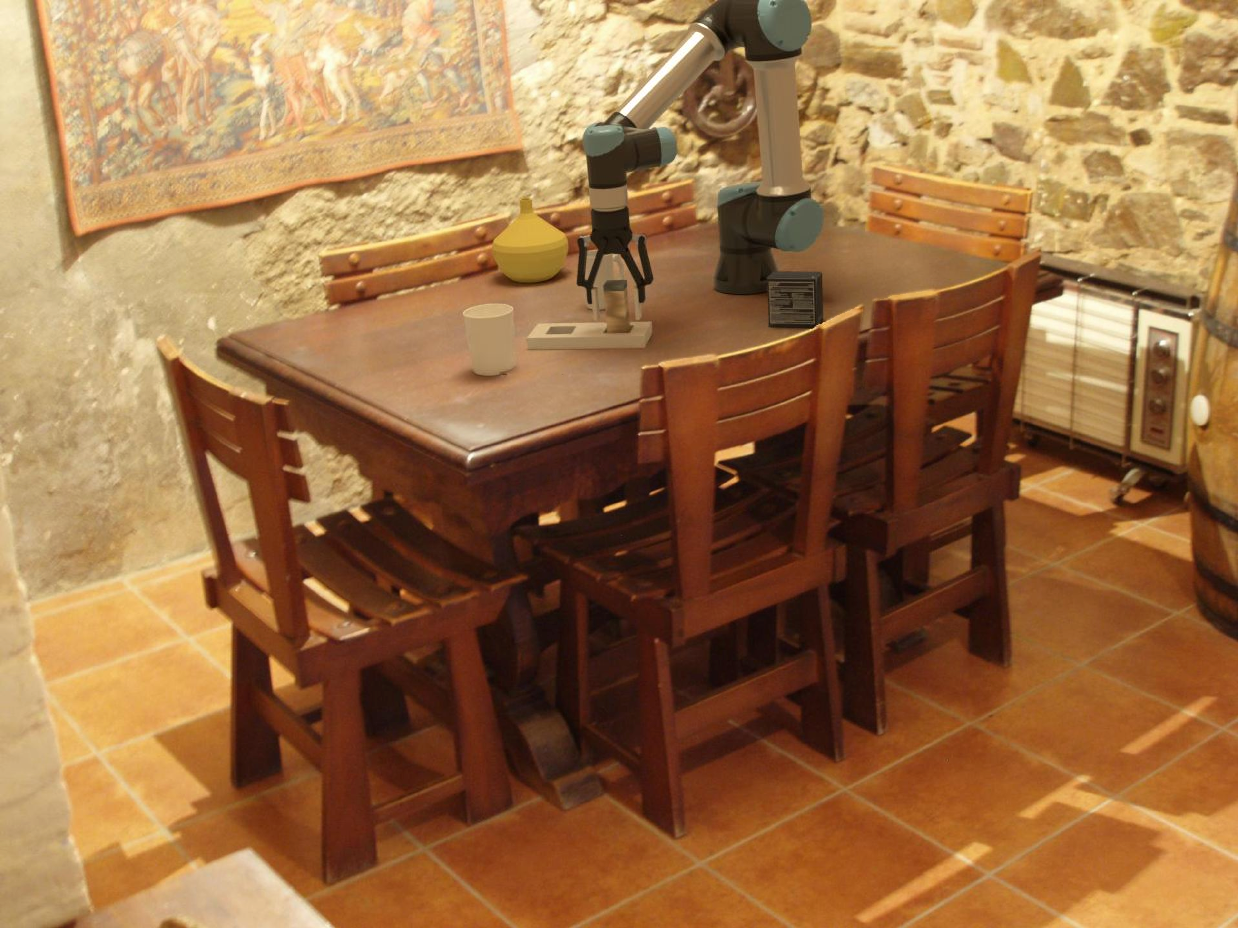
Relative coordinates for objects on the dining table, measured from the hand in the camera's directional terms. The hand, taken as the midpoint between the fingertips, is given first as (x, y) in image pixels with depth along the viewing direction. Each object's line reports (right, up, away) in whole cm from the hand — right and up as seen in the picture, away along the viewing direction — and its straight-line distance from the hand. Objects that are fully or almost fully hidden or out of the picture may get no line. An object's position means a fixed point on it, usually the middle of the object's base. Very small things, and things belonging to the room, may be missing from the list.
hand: (617, 318), depth 288 cm
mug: (-2, +6, +30) cm, 31 cm away
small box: (+37, -1, +6) cm, 37 cm away
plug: (0, -4, +2) cm, 5 cm away
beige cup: (-24, -11, -8) cm, 28 cm away
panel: (-6, -5, +3) cm, 8 cm away
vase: (-21, +16, +57) cm, 63 cm away
